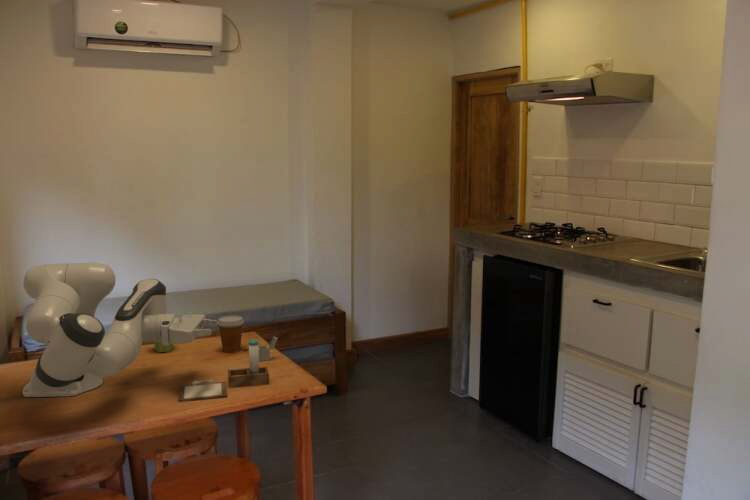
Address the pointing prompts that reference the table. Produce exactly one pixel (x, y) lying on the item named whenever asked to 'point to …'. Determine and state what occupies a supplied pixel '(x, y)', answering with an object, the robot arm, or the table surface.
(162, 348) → the plant pot
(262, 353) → the lighter
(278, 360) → the table surface
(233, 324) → the disposable coffee cup
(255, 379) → the box
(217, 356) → the table surface
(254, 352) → the marker
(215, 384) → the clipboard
